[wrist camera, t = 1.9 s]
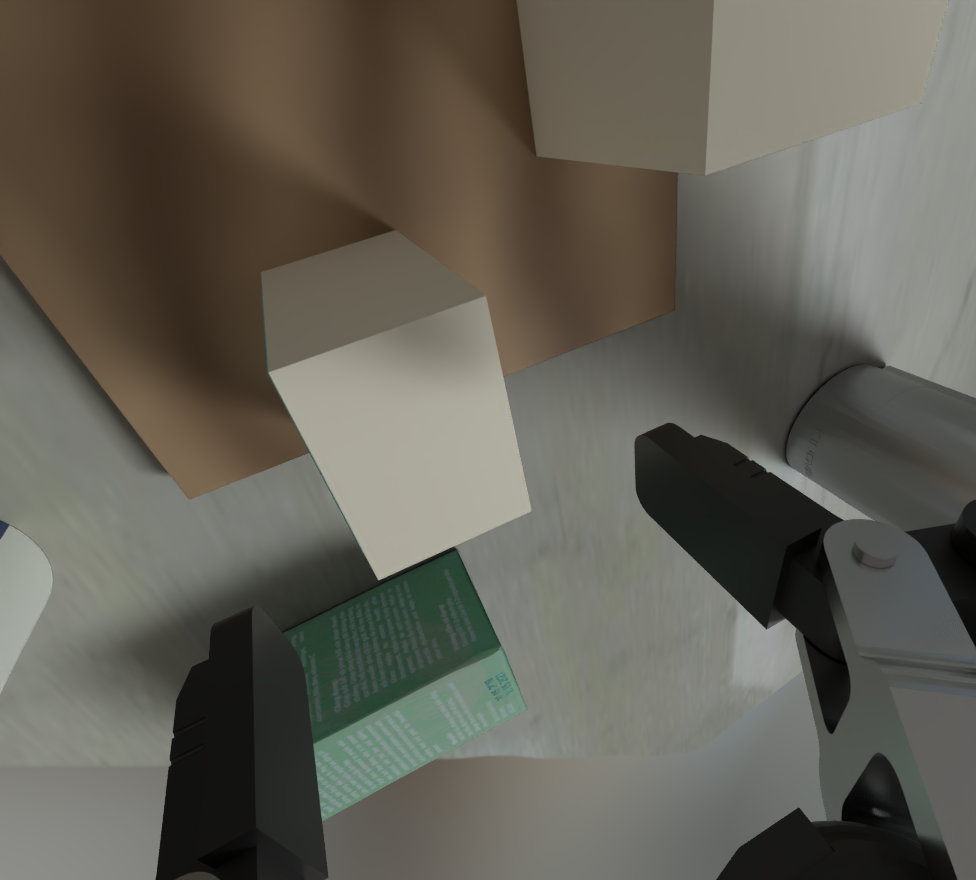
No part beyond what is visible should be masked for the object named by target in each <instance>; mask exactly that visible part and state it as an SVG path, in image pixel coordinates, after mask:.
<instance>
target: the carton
mask: <svg viewBox="0 0 976 880" xmlns="http://www.w3.org/2000/svg"><path fill="white" fill-rule="evenodd" d="M261 280H262V292H261V295H262V309H263V324H264V339H265V353H266V368H267V374H268V376H269V378H270V379H271V381H272V383H273V385H274V387H275V389H276V391H277V393H278V395H279V396H280V398H281V400H282V402H283V404H284V406H285V408H286V410H287V411H288V413H289V415H290V417H291V419H292V421H293V423H294V425H295V427H296V428H297V430H298V432H299V434H300V436H301V438H302V440H303V442H304V443H305V445H306V447H307V449H308V451H309V453H310V455H311V457H312V458H313V460H314V462H315V464H316V466H317V468H318V470H319V472H320V474H321V475H322V477H323V479H324V481H325V483H326V485H327V487H328V489H329V490H330V492H331V494H332V496H333V498H334V500H335V502H336V504H337V505H338V507H339V509H340V511H341V513H342V515H343V517H344V519H345V521H346V522H347V524H348V526H349V528H350V530H351V532H352V534H353V536H354V537H355V539H356V541H357V543H358V545H359V547H360V549H361V551H362V553H363V554H364V556H365V557H366V558H367V560H368V562H369V564H370V565H371V567H372V569H373V571H374V573H375V575H376V577H377V579H378V580H381V579H383V578H385V577H387V576H389V575H392V574H394V573H396V572H398V571H400V570H403V569H405V568H407V567H409V566H411V565H414V564H416V563H418V562H420V561H422V560H425V559H427V558H429V557H431V556H434V555H436V554H438V553H440V552H442V551H445V550H447V549H449V548H451V547H453V546H456V545H458V544H460V543H462V542H464V541H467V540H469V539H471V538H473V537H475V536H478V535H480V534H482V533H484V532H486V531H489V530H491V529H493V528H495V527H498V526H500V525H502V524H504V523H506V522H509V521H511V520H513V519H515V518H517V517H520V516H522V515H524V514H526V513H528V512H531V506H530V501H529V497H528V492H527V487H526V482H525V478H524V473H523V468H522V463H521V459H520V454H519V449H518V445H517V440H516V435H515V430H514V426H513V421H512V416H511V411H510V407H509V402H508V397H507V393H506V388H505V383H504V378H503V374H502V369H501V364H500V359H499V355H498V350H497V345H496V341H495V336H494V331H493V326H492V322H491V317H490V312H489V308H488V303H487V298H486V295H484V294H483V293H482V292H480V291H479V290H477V289H476V288H475V287H473V286H472V285H471V284H469V283H468V282H466V281H465V280H464V279H462V278H461V277H460V276H458V275H457V274H455V273H454V272H453V271H451V270H450V269H449V268H447V267H446V266H444V265H443V264H442V263H440V262H439V261H438V260H436V259H435V258H433V257H432V256H431V255H429V254H428V253H427V252H425V251H424V250H422V249H421V248H420V247H418V246H417V245H416V244H414V243H413V242H412V241H410V240H409V239H407V238H406V237H405V236H403V235H402V234H401V233H399V232H398V231H396V230H394V231H391V232H388V233H385V234H381V235H378V236H375V237H372V238H369V239H365V240H362V241H359V242H356V243H353V244H349V245H346V246H343V247H340V248H337V249H334V250H330V251H327V252H324V253H321V254H318V255H314V256H311V257H308V258H305V259H302V260H298V261H295V262H292V263H289V264H286V265H282V266H279V267H276V268H273V269H270V270H266V271H263V272H261Z"/></svg>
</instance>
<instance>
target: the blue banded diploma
mask: <svg viewBox="0 0 976 880" xmlns="http://www.w3.org/2000/svg"><path fill="white" fill-rule="evenodd" d="M52 584H53V576H52V570H51V567H50V564H49V562H48V560H47V558H46V556H45V555H44V553H43V552H42V550H41V549H40V548H39V547H38V546H37V545H36V544H35V543H34V542H33V541H32V540H31V539H30V538H28V537H27V536H26V535H25V534H23V533H22V532H20V531H19V530H17V529H15V528H14V527H12V526H10V525H8V524H6V523H4V522H2V521H0V694H1V692H2V689H3V687H4V685H5V683H6V681H7V679H8V677H9V675H10V673H11V671H12V669H13V667H14V665H15V663H16V661H17V659H18V657H19V655H20V653H21V651H22V649H23V647H24V645H25V643H26V641H27V639H28V637H29V635H30V634H31V632H32V630H33V628H34V626H35V624H36V622H37V620H38V618H39V616H40V614H41V612H42V611H43V609H44V607H45V605H46V603H47V601H48V598H49V596H50V593H51V590H52Z"/></svg>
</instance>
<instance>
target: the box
mask: <svg viewBox="0 0 976 880" xmlns="http://www.w3.org/2000/svg"><path fill="white" fill-rule="evenodd" d="M283 634H284V636H285V637H286V638H287V639H288V641H289V642H290V643H291V644H292V646H293V647H294V648H295V650H296V652H297V653H298V655H299V658H300V660H301V663H302V665H303V669H304V672H305V677H306V684H307V693H308V702H309V710H310V719H311V728H312V737H313V746H314V755H315V763H316V772H317V781H318V790H319V799H320V808H321V817H322V821H324V820H325V819H327V818H329V817H331V816H332V815H334V814H336V813H338V812H340V811H342V810H343V809H345V808H347V807H349V806H351V805H352V804H354V803H356V802H358V801H360V800H361V799H363V798H365V797H367V796H369V795H370V794H372V793H374V792H376V791H377V790H379V789H381V788H383V787H385V786H386V785H388V784H390V783H392V782H394V781H395V780H397V779H399V778H401V777H403V776H405V775H407V774H408V773H410V772H412V771H414V770H416V769H418V768H420V767H421V766H423V765H425V764H427V763H429V762H430V761H432V760H434V759H436V758H438V757H440V756H441V755H443V754H445V753H447V752H449V751H450V750H452V749H454V748H456V747H458V746H460V745H461V744H463V743H465V742H467V741H469V740H471V739H472V738H474V737H476V736H478V735H480V734H482V733H484V732H486V731H487V730H489V729H491V728H493V727H495V726H497V725H499V724H501V723H503V722H505V721H507V720H509V719H511V718H512V717H514V716H516V715H518V714H520V713H522V712H523V711H525V710H527V709H528V708H527V706H526V704H525V701H524V699H523V696H522V694H521V691H520V689H519V687H518V684H517V682H516V679H515V677H514V674H513V672H512V669H511V667H510V664H509V662H508V659H507V657H506V654H505V651H504V649H503V648H502V646H501V644H500V642H499V640H498V638H497V636H496V633H495V631H494V629H493V627H492V625H491V622H490V620H489V618H488V616H487V614H486V611H485V609H484V607H483V605H482V603H481V600H480V598H479V596H478V593H477V591H476V589H475V586H474V584H473V581H472V579H471V577H470V574H469V572H468V569H467V567H466V565H465V563H464V560H463V558H462V556H461V554H460V552H459V551H458V549H456V550H454V551H452V552H450V553H448V554H445V555H443V556H441V557H439V558H437V559H435V560H433V561H430V562H428V563H426V564H424V565H422V566H420V567H417V568H415V569H413V570H411V571H409V572H407V573H405V574H402V575H400V576H398V577H396V578H394V579H392V580H390V581H387V582H385V583H383V584H381V585H379V586H377V587H375V588H373V589H371V590H369V591H367V592H365V593H363V594H361V595H359V596H357V597H355V598H353V599H351V600H349V601H347V602H345V603H343V604H341V605H339V606H337V607H335V608H332V609H330V610H328V611H326V612H324V613H322V614H320V615H318V616H316V617H314V618H312V619H310V620H308V621H306V622H304V623H302V624H300V625H297V626H295V627H293V628H291V629H289V630H287V631H285V632H283Z"/></svg>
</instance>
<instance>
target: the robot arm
mask: <svg viewBox="0 0 976 880" xmlns="http://www.w3.org/2000/svg"><path fill="white" fill-rule="evenodd" d="M786 456H787V461H788V463H789V464H790V466H791V467H792V468H794V469H795V470H796V471H798V472H799V473H801V474H803V475H804V476H806V477H807V478H809V479H810V480H812V481H814V482H815V483H817V484H818V485H820V486H821V487H823V488H825V489H826V490H828V491H829V492H831V493H832V494H834V495H835V496H837V497H838V498H840V499H841V500H843V501H844V502H846V503H848V504H849V505H851V506H852V507H854V508H856V509H857V510H859V511H860V512H862V513H863V514H865V515H867V516H868V517H870V518H871V519H873V520H874V521H873V520H865V519H852V520H845V521H844V520H842V519H841V518H839V517H837V516H836V515H834V514H832V513H831V512H829V511H828V510H826V509H825V508H823V507H822V506H820V505H819V504H817V503H816V502H814V501H813V500H811V499H810V498H808V497H807V496H805V495H804V494H802V493H801V492H799V491H798V490H796V489H795V488H793V487H792V486H790V485H789V484H787V483H786V482H784V481H783V480H781V479H780V478H778V477H777V476H775V475H774V474H772V473H771V472H769V473H768V472H767V471H766V469H765V468H763V467H762V466H760V465H759V464H757V463H756V462H754V461H753V460H752V461H750V460H749V459H748V457H747V456H745V455H744V454H742V453H741V452H739V451H738V450H736V449H735V448H733V447H732V446H730V445H729V444H727V443H725V442H722V441H719V440H716V439H712V438H709V437H706V436H703V435H699V436H697V437H695V438H694V437H693V436H692V435H690V434H689V433H687V432H686V431H684V430H683V429H682V428H680V427H679V426H677V425H676V424H673V423H666V424H664V425H662V426H660V427H657V428H655V429H653V430H651V431H648V432H646V433H644V434H642V435H639V436H638V437H637V438H636V440H635V479H636V492H637V496H638V498H639V501H640V503H641V505H642V506H643V508H644V510H645V511H646V512H647V513H648V514H649V516H650V517H651V518H652V519H654V520H655V521H656V522H657V523H658V524H659V525H660V526H661V527H662V528H663V529H664V530H665V531H666V532H667V533H668V534H669V535H670V536H671V537H672V538H673V539H674V540H675V541H676V542H677V543H678V544H679V545H680V546H681V547H682V548H683V549H684V550H685V551H686V552H687V553H689V554H690V555H691V556H692V557H693V558H694V559H695V560H696V561H697V562H698V563H699V564H700V565H701V566H702V567H703V568H704V569H705V570H706V571H707V572H708V573H709V574H710V575H711V576H712V577H713V578H714V579H715V580H716V581H717V582H718V583H719V584H720V585H721V586H722V587H723V588H725V589H726V590H727V591H728V592H729V593H730V594H731V595H732V596H733V597H734V598H735V599H736V600H737V601H738V602H739V603H740V604H741V605H742V606H743V607H744V608H745V609H746V610H747V611H748V612H749V613H750V614H751V615H752V616H753V617H754V618H755V619H756V620H757V621H758V622H760V623H761V624H762V625H763V626H764V627H765V628H766V629H768V628H770V627H772V626H774V625H775V624H777V623H779V622H781V621H782V620H784V619H787V620H788V621H789V622H790V623H791V624H792V625H794V626H795V627H796V633H795V636H796V642H797V647H798V651H799V656H800V660H801V664H802V669H803V673H804V677H805V682H806V686H807V690H808V695H809V699H810V703H811V707H812V712H813V716H814V721H815V725H816V729H817V734H818V739H819V747H820V748H819V749H820V759H819V777H820V787H821V794H822V799H823V804H824V809H825V813H826V818H827V821H815V822H810V820H809V819H808V818H807V817H806V816H805V815H804V813H803V812H802V811H801V809H800V808H797V809H796V810H794V811H793V812H791V813H790V814H788V815H787V816H785V817H784V818H782V819H781V820H779V821H778V822H776V823H775V824H774V825H772V826H771V827H769V828H768V829H766V830H765V831H763V832H762V833H760V834H759V835H757V836H756V837H754V838H753V839H751V840H750V841H748V842H747V843H745V844H744V845H742V846H741V847H740V848H738V850H737V851H736V853H735V854H734V855H733V857H732V858H731V860H730V861H729V862H728V864H727V865H726V867H725V868H724V870H723V871H722V872H721V874H720V875H719V877H718V878H717V880H976V398H974V397H971V396H968V395H966V394H963V393H960V392H958V391H955V390H952V389H950V388H947V387H944V386H942V385H939V384H937V383H934V382H931V381H929V380H926V379H923V378H921V377H918V376H915V375H913V374H910V373H907V372H905V371H902V370H900V369H897V368H894V367H892V366H887V367H885V368H882V369H880V368H878V367H875V366H872V365H865V364H862V365H858V366H853V367H851V368H849V369H847V370H844V371H842V372H841V373H839V374H838V375H836V376H835V377H833V378H832V379H831V380H829V381H828V382H827V383H826V384H825V385H823V386H822V387H821V388H820V389H819V390H818V391H817V392H816V393H815V394H814V396H813V397H812V398H811V399H810V400H809V402H808V403H807V404H806V405H805V407H804V408H803V409H802V411H801V413H800V414H799V416H798V418H797V419H796V421H795V423H794V425H793V427H792V430H791V432H790V435H789V438H788V442H787V448H786ZM173 733H174V738H173V739H172V744H171V752H170V761H171V766H170V767H169V770H168V779H167V787H166V796H165V805H164V814H163V822H162V831H161V840H160V849H159V858H158V866H157V875H156V880H325V879H326V878H328V870H327V861H326V852H325V843H324V835H323V825H322V817H321V808H320V799H319V790H318V781H317V772H316V763H315V755H314V746H313V737H312V728H311V719H310V710H309V702H308V693H307V684H306V677H305V672H304V669H303V665H302V663H301V660H300V658H299V655H298V653H297V652H296V650H295V648H294V647H293V646H292V644H291V643H290V642H289V641H288V639H287V638H286V637H285V636H284V634H283V633H282V632H281V630H280V629H279V628H278V627H277V625H276V624H275V623H274V622H273V620H272V619H271V618H270V617H269V615H268V614H267V613H266V612H265V610H264V609H263V608H262V607H261V606H259V605H255V606H253V607H251V608H249V609H246V610H244V611H242V612H240V613H237V614H235V615H233V616H231V617H228V618H226V619H224V620H222V621H219V622H217V623H215V624H214V625H213V627H212V629H211V635H210V650H209V659H208V660H206V661H204V662H202V663H199V664H197V665H195V666H193V667H192V668H191V670H190V672H189V674H188V677H187V679H186V681H185V683H184V685H183V687H182V689H181V691H180V694H179V696H178V698H177V700H176V709H175V717H174V726H173Z"/></svg>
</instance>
